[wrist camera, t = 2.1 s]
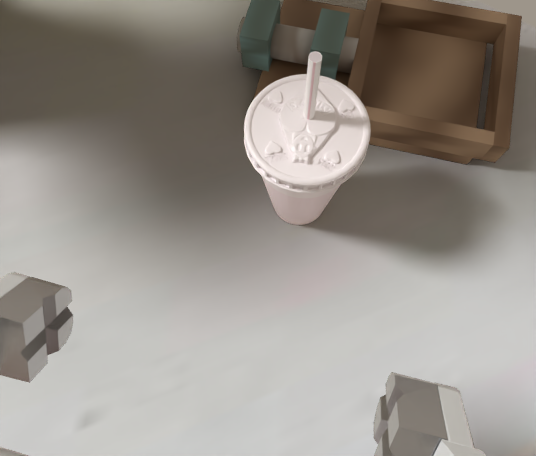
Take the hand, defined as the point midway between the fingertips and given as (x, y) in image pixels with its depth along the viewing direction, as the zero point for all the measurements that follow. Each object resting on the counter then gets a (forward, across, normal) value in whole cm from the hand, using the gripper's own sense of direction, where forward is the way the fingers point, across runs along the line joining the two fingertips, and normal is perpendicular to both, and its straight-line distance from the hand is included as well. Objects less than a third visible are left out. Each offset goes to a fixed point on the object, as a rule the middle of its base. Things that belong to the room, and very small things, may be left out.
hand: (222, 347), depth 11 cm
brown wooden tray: (+28, -3, -3) cm, 29 cm away
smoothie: (+21, 0, +4) cm, 21 cm away
